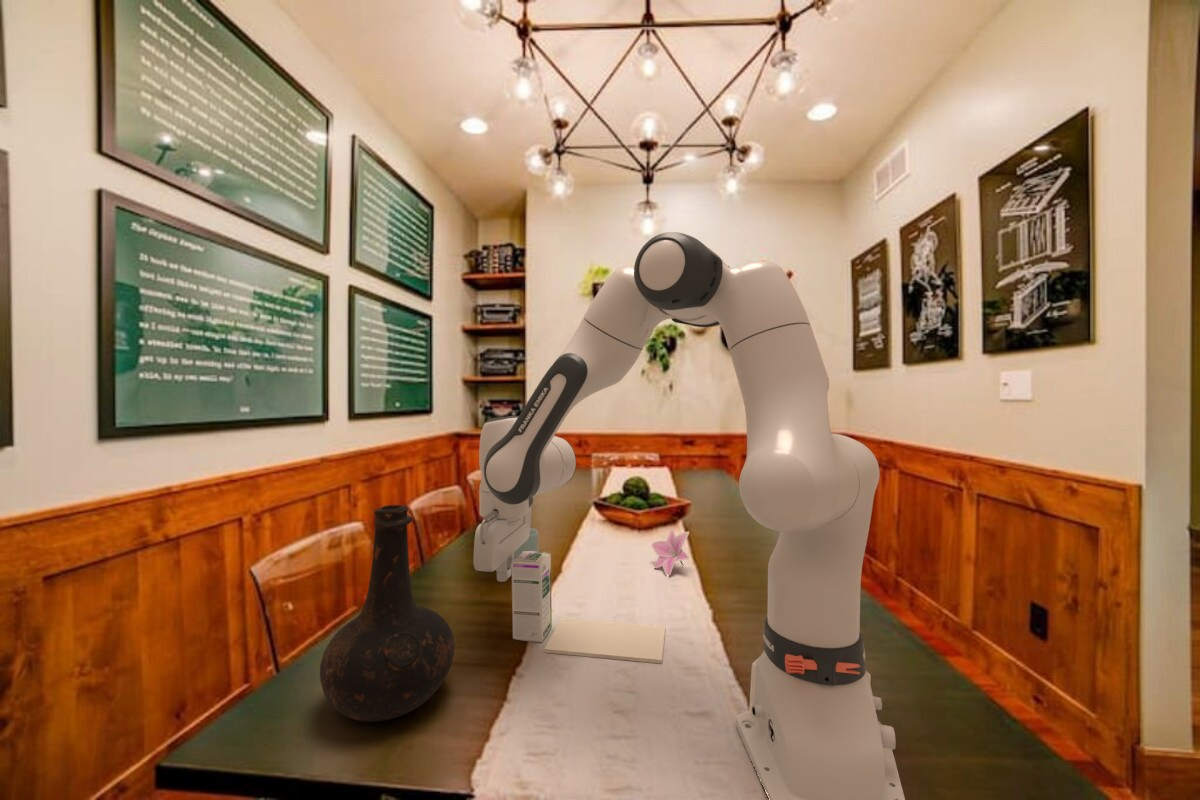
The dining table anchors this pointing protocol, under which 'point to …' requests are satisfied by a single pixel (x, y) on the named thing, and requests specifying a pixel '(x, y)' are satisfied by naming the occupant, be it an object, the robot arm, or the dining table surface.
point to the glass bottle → (387, 637)
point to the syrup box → (531, 596)
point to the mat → (608, 640)
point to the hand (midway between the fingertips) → (504, 578)
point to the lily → (670, 551)
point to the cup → (528, 543)
